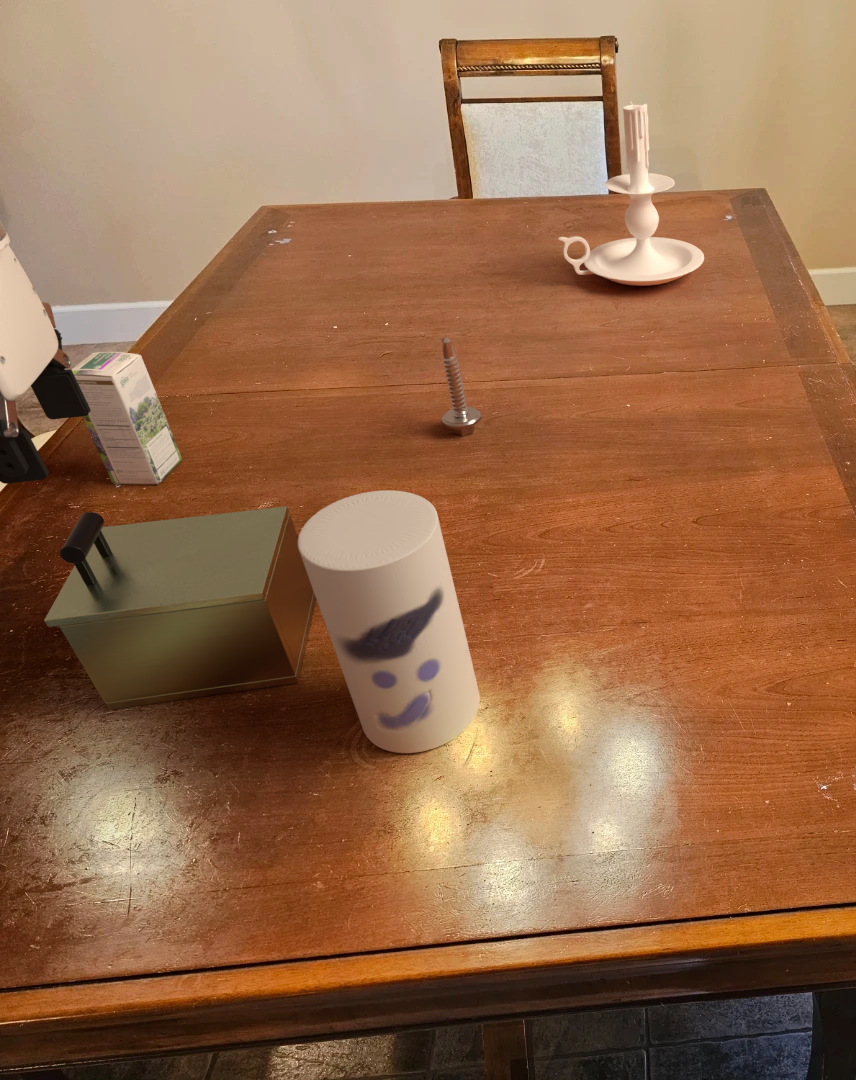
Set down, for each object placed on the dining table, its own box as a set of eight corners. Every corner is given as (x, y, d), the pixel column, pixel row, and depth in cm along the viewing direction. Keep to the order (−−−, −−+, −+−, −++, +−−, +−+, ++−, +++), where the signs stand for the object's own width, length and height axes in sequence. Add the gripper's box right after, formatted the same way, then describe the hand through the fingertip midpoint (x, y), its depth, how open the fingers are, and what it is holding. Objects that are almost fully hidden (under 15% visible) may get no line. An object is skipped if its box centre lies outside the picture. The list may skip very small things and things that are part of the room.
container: (386, 774, 75) (321, 586, 63) (346, 700, 82) (279, 517, 69) (499, 718, 80) (458, 534, 68) (452, 653, 86) (408, 473, 74)
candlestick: (548, 267, 163) (527, 95, 146) (679, 247, 171) (674, 82, 154) (580, 311, 148) (561, 125, 131) (722, 287, 156) (722, 108, 139)
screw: (467, 444, 116) (437, 435, 118) (491, 426, 120) (461, 418, 121) (448, 348, 108) (416, 341, 110) (474, 333, 112) (442, 325, 113)
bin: (108, 710, 81) (59, 626, 75) (149, 614, 91) (108, 534, 85) (298, 683, 83) (265, 600, 77) (317, 592, 93) (289, 513, 87)
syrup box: (138, 459, 114) (89, 350, 105) (185, 459, 113) (140, 351, 105) (112, 484, 109) (58, 373, 100) (161, 485, 109) (112, 374, 100)
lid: (48, 627, 75) (19, 580, 72) (98, 534, 85) (75, 489, 82) (265, 599, 77) (246, 552, 74) (289, 512, 87) (273, 468, 84)
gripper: (-68, 196, 69) (37, 400, 79) (-199, 283, 55) (-52, 515, 66) (42, 189, 70) (131, 390, 81) (-60, 272, 57) (63, 501, 67)
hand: (49, 446), depth 73 cm, fingers open, 9 cm apart
